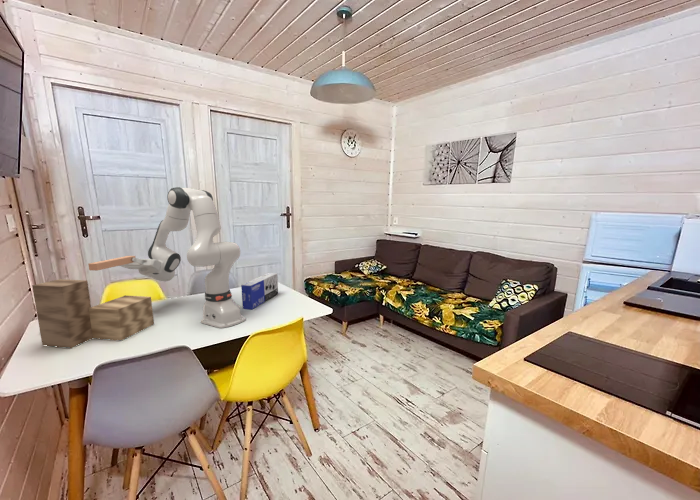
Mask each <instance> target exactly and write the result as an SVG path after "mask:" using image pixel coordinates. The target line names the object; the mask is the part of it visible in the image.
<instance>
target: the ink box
mask: <svg viewBox="0 0 700 500" xmlns="http://www.w3.org/2000/svg"><path fill="white" fill-rule="evenodd" d="M278 279H279V277H278V273H277V272H267V273H265V274H263V275H261V276H259V277H256V278H253V279H251V280H249V281H247V282H244V283H241V286H240V287H241V300H242V310H243V309H244V310H251V311H253V309H255V308H257V307H259V306H261V305H263V304H264V303H266V302H267V301H269V300H271V299H272V298H274V297H275V296H277V295H278V294H279V282H278Z"/></svg>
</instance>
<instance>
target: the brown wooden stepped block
mask: <svg viewBox="0 0 700 500" xmlns="http://www.w3.org/2000/svg"><path fill="white" fill-rule="evenodd" d="M31 288H32V292H33V296H34V297H33V299H34V302H35V303H34V305H35V309H36V315H37V321H38V327H39V332H40V334H39V335H40V338H41V346H42V345H47V346H57V347H56V348H59V347H70V348H69V349H73V348H72V347H74V346H76V345H78V344H80V343H82V344H84V343H83V342H85V341H87V340H89V339H91V340H93V339H92V338H100V339H99V340H103V339H110V340H109V341H116V340H122V341H123V339H124V340H126V339H128V338H130V337H132V336H134V335H135V333H136V334H137V332H138V333H139V331H140V332H142V331H143V329H144V330H145V328H146V329H147V327H148V328H150V327H152V326H154V325H155V322H154V313H153V312H154V311H153V304H152V296H142V295H123V296H120V297H117V298H114V299H112V300H109V301H105V302H103V303H99V304H96V305H94V306H92V305H91V298H90V291H89V283H88V280H83V279H64V278H63V279H60V278H58V279H55V280H50V281H45V282H42V283H38V284H33V285H32V287H31ZM153 324H154V325H153ZM151 325H152V326H151ZM149 326H150V327H149ZM141 330H142V331H141ZM133 334H134V335H133ZM131 335H132V336H131ZM129 336H130V337H129ZM127 337H128V338H127ZM125 338H126V339H125ZM89 341H90V340H89ZM87 342H88V341H87ZM85 343H86V342H85ZM80 345H81V344H80ZM47 346H46V347H47ZM78 346H79V345H78ZM76 347H77V346H76ZM74 348H75V347H74Z"/></svg>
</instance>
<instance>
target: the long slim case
mask: <svg viewBox="0 0 700 500" xmlns="http://www.w3.org/2000/svg"><path fill="white" fill-rule="evenodd" d="M131 258H137V257H136V255H125V256H119V257H115V258H110V259H106V260H100V261H95V262H90V263H88V270H89V271H102V270H107V269H110V268H115V267H121V266H120V265H124V264H129V263H133V262H132V261H131Z"/></svg>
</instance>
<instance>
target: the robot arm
mask: <svg viewBox="0 0 700 500" xmlns="http://www.w3.org/2000/svg"><path fill="white" fill-rule="evenodd" d="M167 202H168V205H167V208H166V213H165V216H164V219H163V220H161V221H160V223H159V224H158V227H157V229H156V232H155V235H154V238H153V241H152V243H151V245H150V247H149V249H148V250H147V255H148V256H147V257H148V258H145V259H144V258H137V257H136V258H131V261H132V262H133V263H129V264H124V265H120V266H119V267H122V268H124V269H129V270H138V273H139V274H140V275H143V276H144V277H148V278H151V279H153V280H155V281H159V282H164V283H165V282H169V281H172V280H173V278H174V277H175V276H176V275H175V274H176V272H175V271H176V269H177V268H178V267H179V266H180V264H181V260H182V258H181V254H179V252H178V253H177V252H176V251H174V250H172V249H171V248H169V247H168V246H167V245H166V243H167V240H168V237H169V234H170V233H171V232H181V231H183V230H184V229H186V228H187V227H188V224H189V221H190V214H191V211H192V214H193V220H194V223H195V230H196V237H195V240H194V242H193V244H192V245H191V246H190V247H189V248H188V250H187V252H186V260H187V262H188V263H189V264H190V265H191V266H193V267H197V268H198V267H199V268H200V267H203V268H204V267H210V266H213V269H212V270H211V271H210V272H208V273H206V275H205V278H204V287H205V288H204V289H205V291H204V300H205V301H204V304H203V307H202V308H203V309H202V318H201V320H200V323H201V324H202V325H207V326H212V327H214V328H217V329H224V328H229V327H232V326H233V327H234V326H236V325H238V324H241V323H243V322H245V321H246V320H247V319H246V317H245V316H244V315H242V314H241V306H240V305H239V304H236V301H234V299H233V295H232V292H231V289H230V273H231V269H232V268H233V265H234V264H235V262H236V261H237V260H238V259H239V258H240V256H241V249H240V246H239V245H238V244H237V243H236V242H231V241H221V242H214V237H216V236H217V235H218V234H220V232H221V229H222V227H221V224H220V223H221V221H220V218H219V214H218V210H217V208H216V205H215V202H214V198H213V195H212V194H211V192H209V191H207V190H204V189H203V190H202V189H197V188H192V187H180V186H179V187H178V186H177V187H172V188H170V189H169V191H168V192H167Z"/></svg>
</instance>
